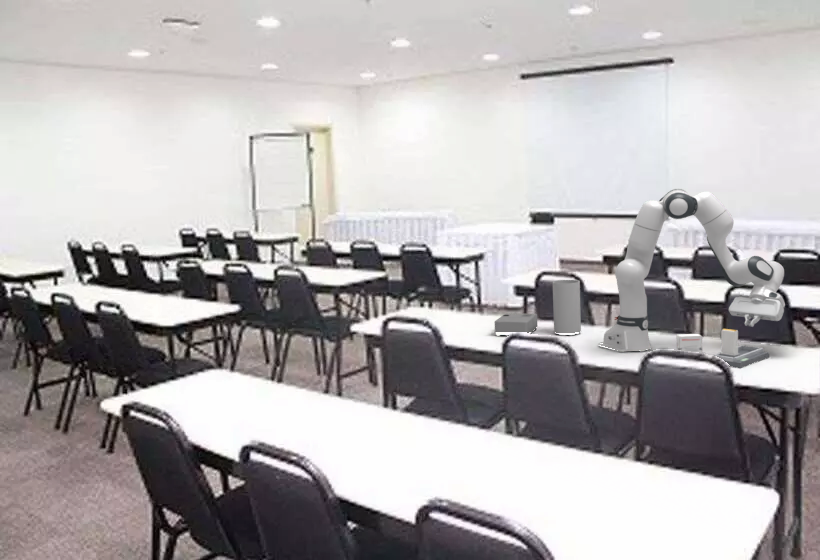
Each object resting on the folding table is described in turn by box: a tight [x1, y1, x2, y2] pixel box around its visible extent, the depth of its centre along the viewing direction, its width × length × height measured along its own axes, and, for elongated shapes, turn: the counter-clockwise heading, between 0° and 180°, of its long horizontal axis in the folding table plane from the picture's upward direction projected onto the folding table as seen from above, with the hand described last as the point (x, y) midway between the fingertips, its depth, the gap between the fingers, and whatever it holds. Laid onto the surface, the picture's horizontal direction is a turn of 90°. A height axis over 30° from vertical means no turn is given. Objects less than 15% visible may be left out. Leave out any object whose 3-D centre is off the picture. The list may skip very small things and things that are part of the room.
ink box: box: [675, 333, 703, 354], centre depth 284 cm, size 9×5×12 cm, turn 84°
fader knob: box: [718, 328, 740, 358], centre depth 282 cm, size 6×4×11 cm, turn 38°
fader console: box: [713, 344, 770, 369], centre depth 287 cm, size 13×22×3 cm, turn 128°
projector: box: [494, 312, 538, 333], centre depth 361 cm, size 17×22×8 cm
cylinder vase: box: [552, 279, 582, 333], centre depth 351 cm, size 12×12×25 cm
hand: (748, 325), depth 291 cm, fingers closed
